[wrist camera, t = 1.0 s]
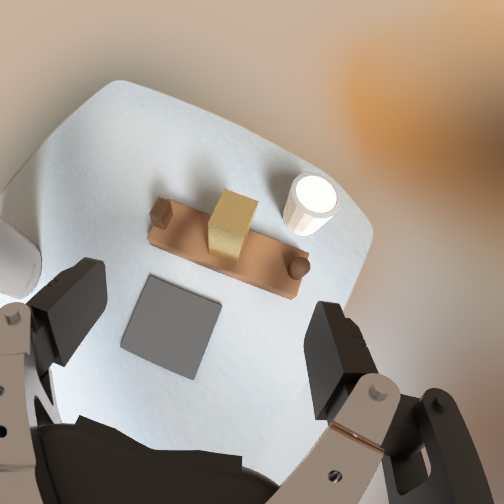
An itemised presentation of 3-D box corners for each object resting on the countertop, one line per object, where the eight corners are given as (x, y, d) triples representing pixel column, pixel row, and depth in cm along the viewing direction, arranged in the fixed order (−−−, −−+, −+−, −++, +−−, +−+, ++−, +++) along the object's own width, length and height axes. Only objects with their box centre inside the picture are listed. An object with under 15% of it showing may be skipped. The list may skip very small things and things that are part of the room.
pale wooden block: (208, 254, 34) (208, 222, 26) (221, 226, 36) (224, 188, 28) (236, 264, 34) (244, 236, 26) (247, 236, 36) (258, 201, 28)
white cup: (269, 222, 40) (281, 197, 33) (292, 189, 42) (305, 162, 36) (310, 248, 39) (329, 228, 33) (330, 214, 42) (349, 190, 35)
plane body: (150, 244, 36) (140, 226, 31) (169, 208, 39) (164, 185, 33) (291, 300, 37) (305, 290, 31) (304, 259, 39) (319, 243, 33)
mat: (121, 347, 31) (120, 346, 31) (150, 277, 35) (150, 275, 34) (193, 379, 31) (193, 380, 31) (222, 306, 35) (222, 305, 34)
